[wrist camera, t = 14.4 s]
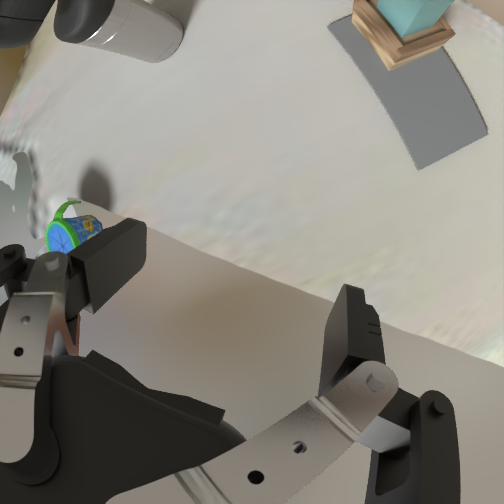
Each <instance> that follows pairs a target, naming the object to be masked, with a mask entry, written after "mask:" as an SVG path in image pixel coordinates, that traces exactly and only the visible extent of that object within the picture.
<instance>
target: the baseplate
mask: <svg viewBox="0 0 504 504" xmlns="http://www.w3.org/2000/svg"><path fill="white" fill-rule="evenodd" d="M327 27H328V29H329V31H330V32H331V33H332V34H333V35H334V37H335V38H336V39H337V40H338V42H339V43H340V44H341V45H342V47H343V48H344V49H345V50H346V52H347V53H348V54H349V56H350V57H351V58H352V60H353V61H354V62H355V64H356V65H357V67H358V68H359V69H360V71H361V72H362V74H363V75H364V77H365V78H366V79H367V81H368V82H369V84H370V85H371V87H372V88H373V90H374V92H375V93H376V95H377V96H378V98H379V99H380V101H381V103H382V104H383V106H384V108H385V109H386V111H387V113H388V114H389V116H390V118H391V119H392V121H393V123H394V125H395V127H396V128H397V130H398V132H399V134H400V136H401V138H402V139H403V141H404V143H405V145H406V147H407V149H408V151H409V153H410V155H411V157H412V159H413V161H414V163H415V165H416V168H417V170H421V169H423V168H425V167H427V166H428V165H430V164H432V163H434V162H436V161H438V160H440V159H442V158H444V157H446V156H448V155H450V154H452V153H453V152H455V151H457V150H459V149H461V148H463V147H465V146H467V145H469V144H471V143H473V142H475V141H476V140H478V139H480V138H482V137H484V136H486V135H488V132H487V129H486V127H485V125H484V123H483V120H482V118H481V116H480V114H479V112H478V110H477V107H476V105H475V103H474V101H473V99H472V97H471V96H470V94H469V92H468V90H467V88H466V86H465V84H464V83H463V81H462V79H461V77H460V76H459V74H458V72H457V70H456V69H455V67H454V65H453V64H452V62H451V61H450V59H449V58H448V56H447V54H446V53H445V51H444V50H443V48H442V47H440V48H439V49H438V50H437V51H435V52H433V53H430V54H428V55H425V56H423V57H420V58H418V59H415V60H413V61H411V62H408V63H406V64H404V65H402V66H399V67H397V68H395V69H393V70H390V71H389V70H388V69H387V67H386V66H385V64H384V63H383V61H382V60H381V59H380V57H379V56H378V54H377V53H376V52H375V50H374V49H373V48H372V46H371V45H370V44H369V42H368V41H367V40H366V39H365V37H364V36H363V35H362V34H361V32H360V31H359V30H358V29H357V28H356V26H355V25H354V24H353V23H352V15H350V16H348V17H346V18H344V19H341V20H339V21H337V22H335V23H333V24H330V25H328V26H327Z"/></svg>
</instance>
